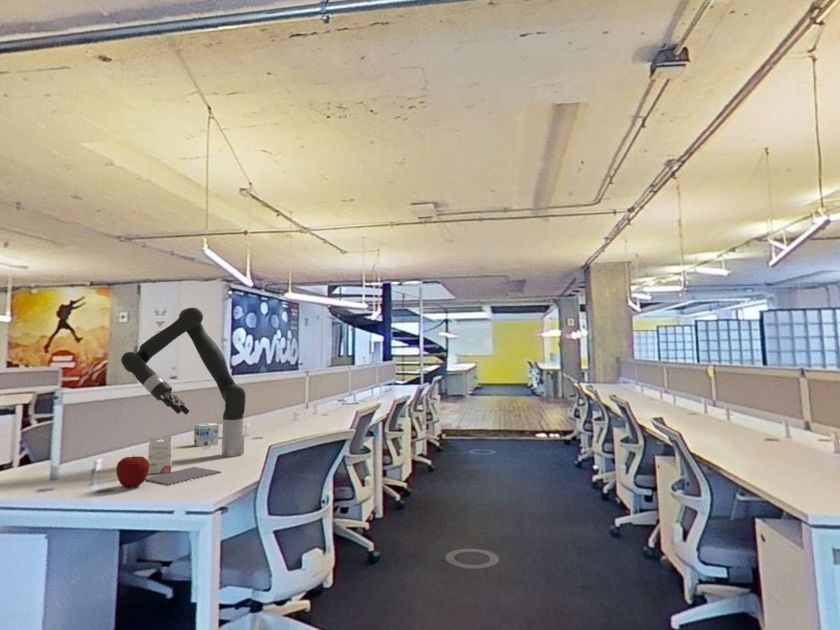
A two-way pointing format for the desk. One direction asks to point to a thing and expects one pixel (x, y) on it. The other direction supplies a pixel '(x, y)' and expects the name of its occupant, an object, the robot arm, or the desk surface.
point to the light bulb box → (206, 434)
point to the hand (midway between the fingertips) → (184, 412)
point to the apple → (132, 471)
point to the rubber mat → (181, 475)
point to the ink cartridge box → (160, 455)
